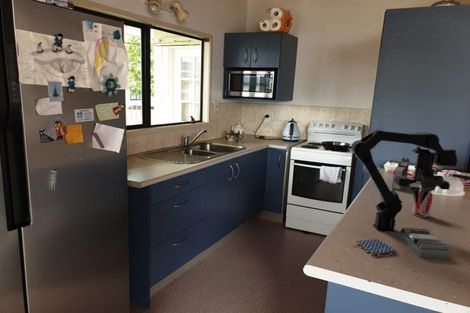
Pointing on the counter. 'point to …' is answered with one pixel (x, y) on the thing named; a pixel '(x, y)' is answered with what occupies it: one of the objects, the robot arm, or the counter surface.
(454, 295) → the counter surface
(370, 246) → the woven mat
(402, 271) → the counter surface
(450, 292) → the counter surface
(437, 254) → the heat sink
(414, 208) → the soda can
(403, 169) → the graphics card
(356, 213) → the counter surface
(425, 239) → the gray block
